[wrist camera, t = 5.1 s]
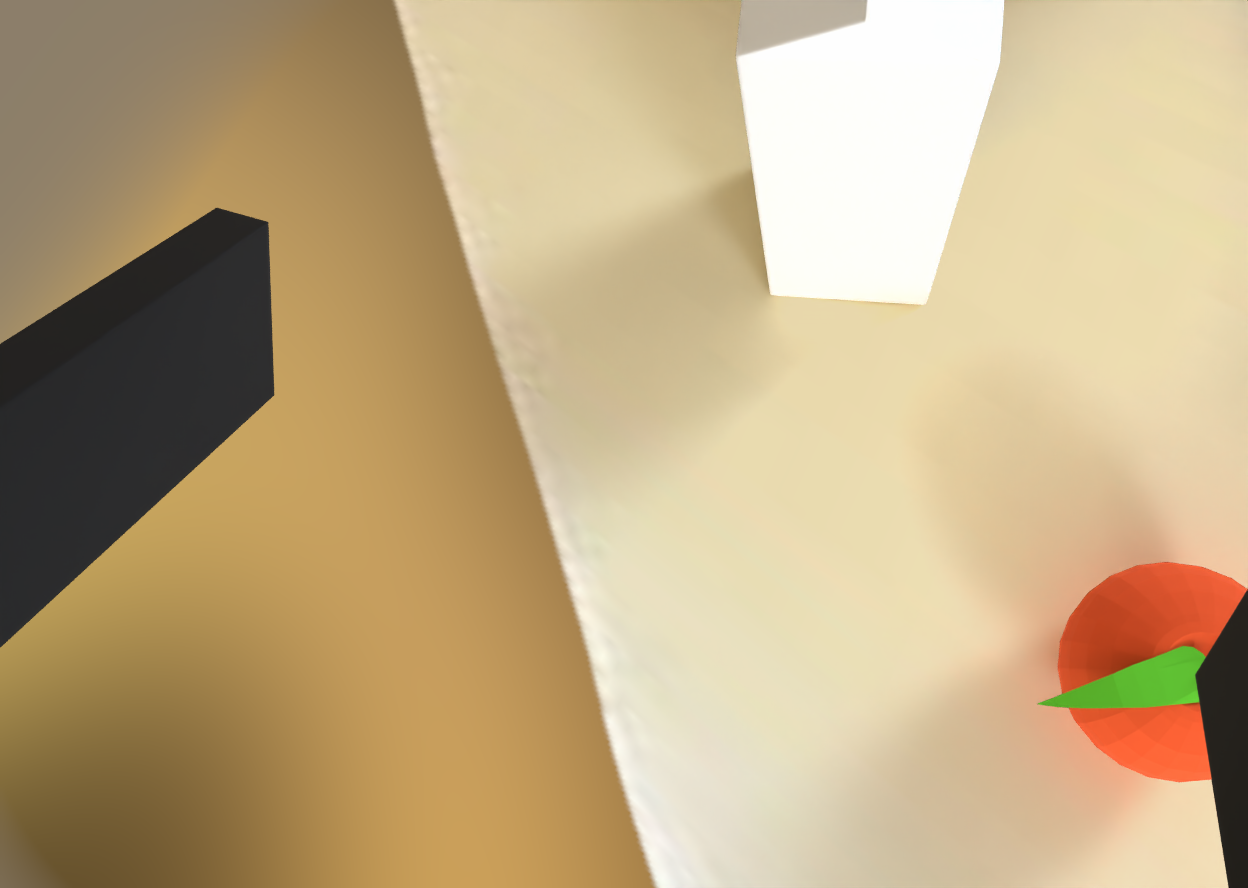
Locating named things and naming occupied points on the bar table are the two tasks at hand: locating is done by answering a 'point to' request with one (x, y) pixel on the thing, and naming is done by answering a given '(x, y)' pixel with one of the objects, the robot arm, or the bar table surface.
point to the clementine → (1145, 665)
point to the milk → (862, 136)
